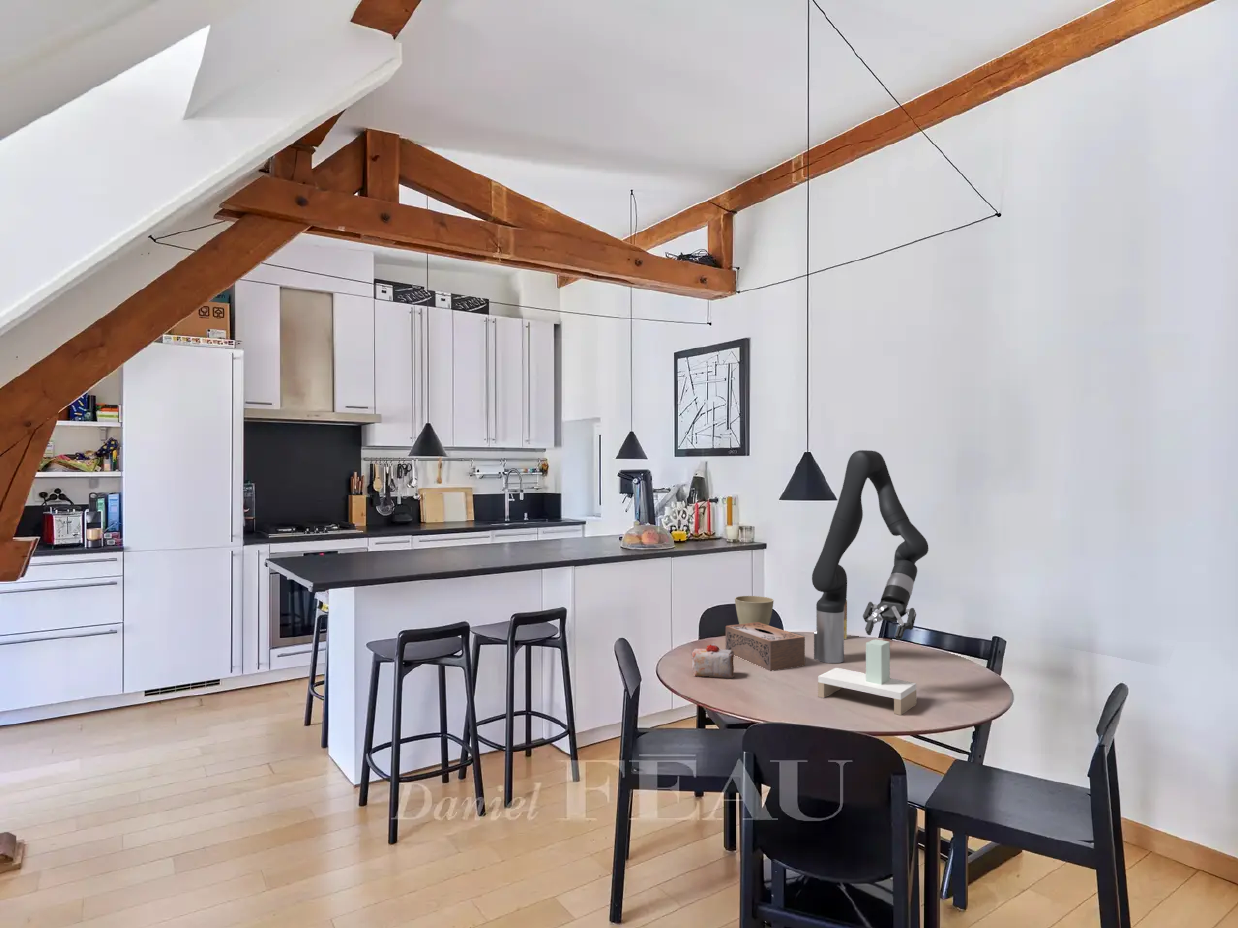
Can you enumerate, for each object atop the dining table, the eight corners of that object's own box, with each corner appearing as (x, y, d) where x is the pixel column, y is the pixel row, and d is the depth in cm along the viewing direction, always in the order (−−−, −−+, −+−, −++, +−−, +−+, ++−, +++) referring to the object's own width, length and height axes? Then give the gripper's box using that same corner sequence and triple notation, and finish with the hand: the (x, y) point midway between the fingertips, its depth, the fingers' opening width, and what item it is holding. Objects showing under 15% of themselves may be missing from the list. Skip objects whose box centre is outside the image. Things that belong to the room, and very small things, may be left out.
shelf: (818, 696, 212) (818, 675, 212) (835, 687, 221) (836, 667, 221) (900, 715, 196) (900, 693, 196) (916, 704, 205) (916, 683, 205)
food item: (690, 677, 231) (690, 646, 231) (693, 670, 239) (693, 640, 239) (733, 680, 228) (733, 649, 228) (735, 673, 236) (735, 643, 236)
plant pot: (765, 646, 270) (765, 603, 270) (728, 641, 279) (728, 599, 279) (779, 638, 283) (779, 597, 283) (744, 633, 291) (744, 594, 291)
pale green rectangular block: (865, 681, 206) (865, 642, 206) (874, 676, 211) (874, 639, 211) (881, 684, 203) (881, 645, 203) (889, 679, 208) (889, 641, 208)
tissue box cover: (725, 653, 261) (725, 625, 261) (758, 649, 268) (758, 622, 268) (770, 671, 238) (770, 641, 238) (804, 666, 245) (804, 636, 245)
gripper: (871, 581, 221) (855, 624, 213) (918, 586, 212) (903, 632, 204) (877, 595, 225) (862, 639, 217) (924, 602, 216) (910, 647, 208)
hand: (882, 636), depth 210 cm, fingers open, 8 cm apart
